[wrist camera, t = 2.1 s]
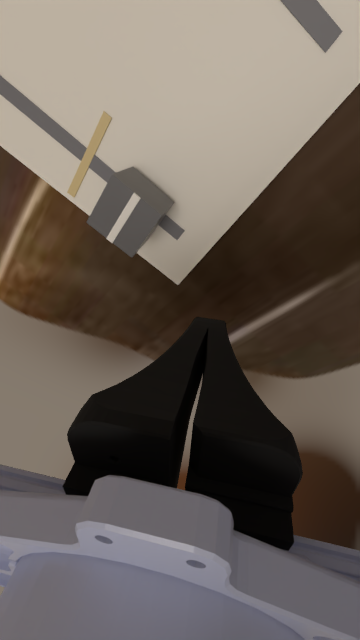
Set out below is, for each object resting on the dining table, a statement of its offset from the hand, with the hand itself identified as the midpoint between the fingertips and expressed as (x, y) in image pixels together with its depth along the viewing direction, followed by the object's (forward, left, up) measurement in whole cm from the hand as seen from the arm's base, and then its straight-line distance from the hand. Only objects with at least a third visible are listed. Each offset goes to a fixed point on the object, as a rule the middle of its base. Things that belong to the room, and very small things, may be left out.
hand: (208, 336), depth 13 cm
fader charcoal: (+6, 0, -7) cm, 9 cm away
